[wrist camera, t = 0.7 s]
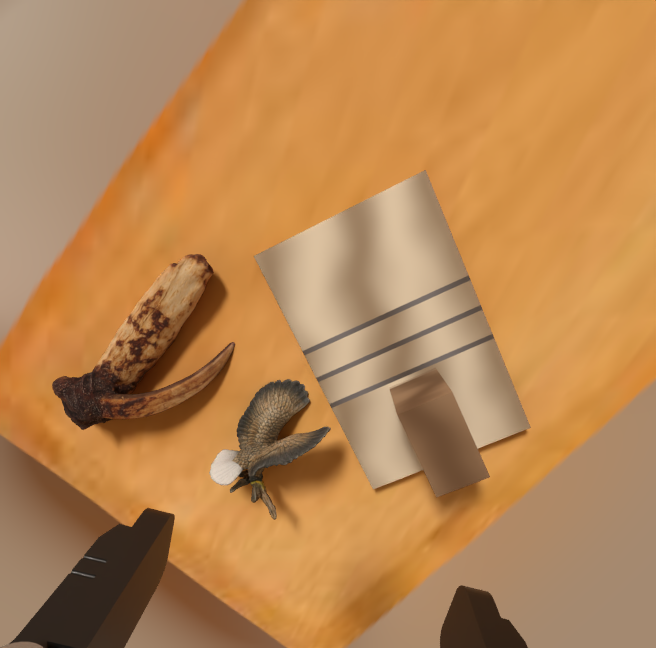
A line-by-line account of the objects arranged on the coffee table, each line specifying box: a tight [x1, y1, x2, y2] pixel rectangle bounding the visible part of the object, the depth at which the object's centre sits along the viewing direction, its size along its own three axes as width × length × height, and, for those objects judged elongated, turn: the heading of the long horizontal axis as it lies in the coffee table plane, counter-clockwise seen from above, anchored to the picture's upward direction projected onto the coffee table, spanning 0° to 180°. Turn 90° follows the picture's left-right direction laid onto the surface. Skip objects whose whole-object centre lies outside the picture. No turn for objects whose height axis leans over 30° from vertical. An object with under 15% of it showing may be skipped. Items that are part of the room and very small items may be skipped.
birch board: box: [254, 170, 531, 489], centre depth 31 cm, size 14×22×1 cm, turn 26°
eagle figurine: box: [210, 379, 331, 520], centre depth 31 cm, size 8×7×9 cm
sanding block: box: [389, 368, 490, 497], centre depth 29 cm, size 4×7×5 cm, turn 26°
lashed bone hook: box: [52, 254, 235, 430], centre depth 31 cm, size 9×5×18 cm
